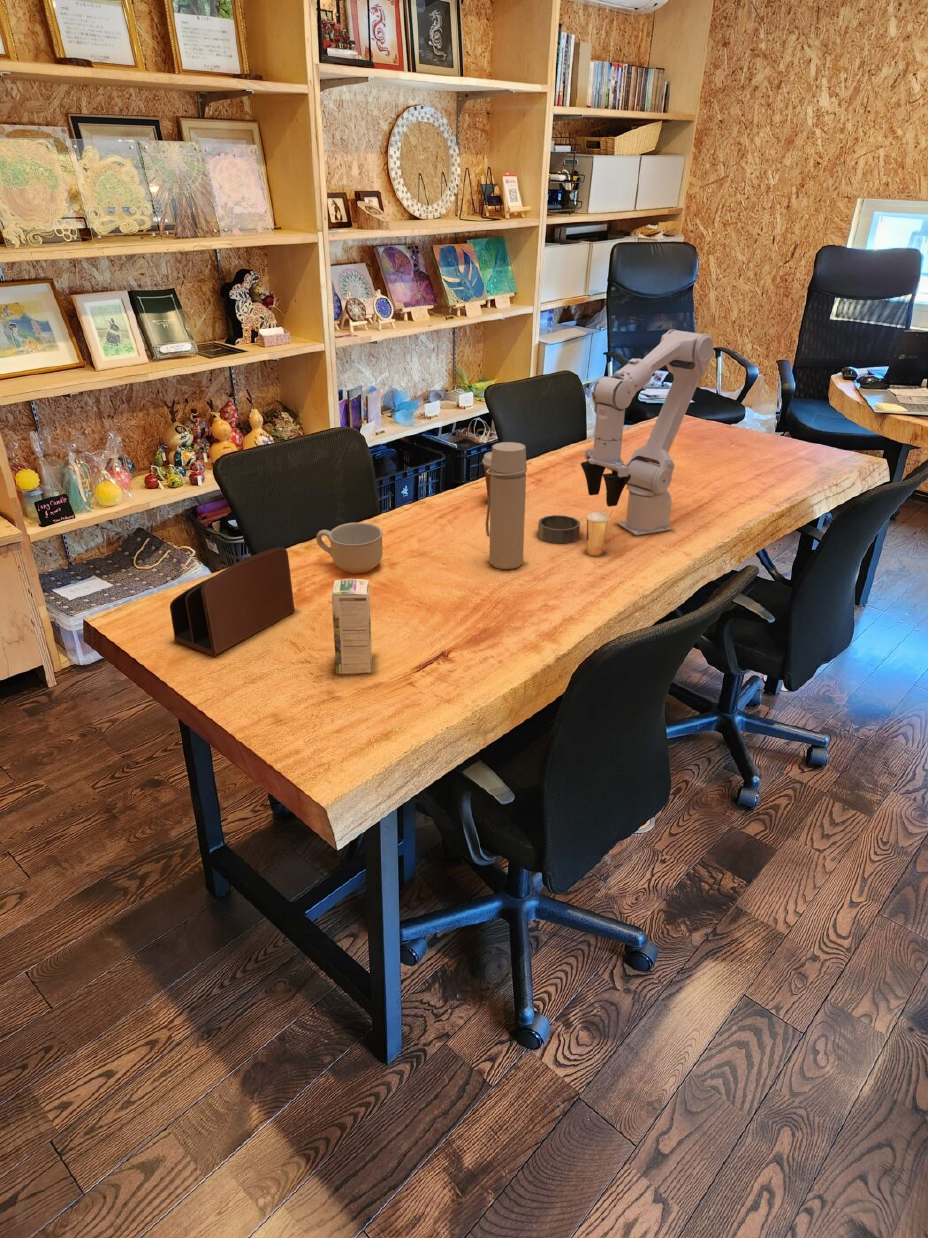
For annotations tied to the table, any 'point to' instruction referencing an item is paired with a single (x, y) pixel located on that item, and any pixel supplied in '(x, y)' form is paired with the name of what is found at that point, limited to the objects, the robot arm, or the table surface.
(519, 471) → the water bottle
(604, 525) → the milkshake
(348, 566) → the teacup
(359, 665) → the syrup box
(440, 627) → the table surface
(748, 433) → the table surface
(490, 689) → the table surface
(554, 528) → the brown hollow ring
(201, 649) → the letter holder
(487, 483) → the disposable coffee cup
